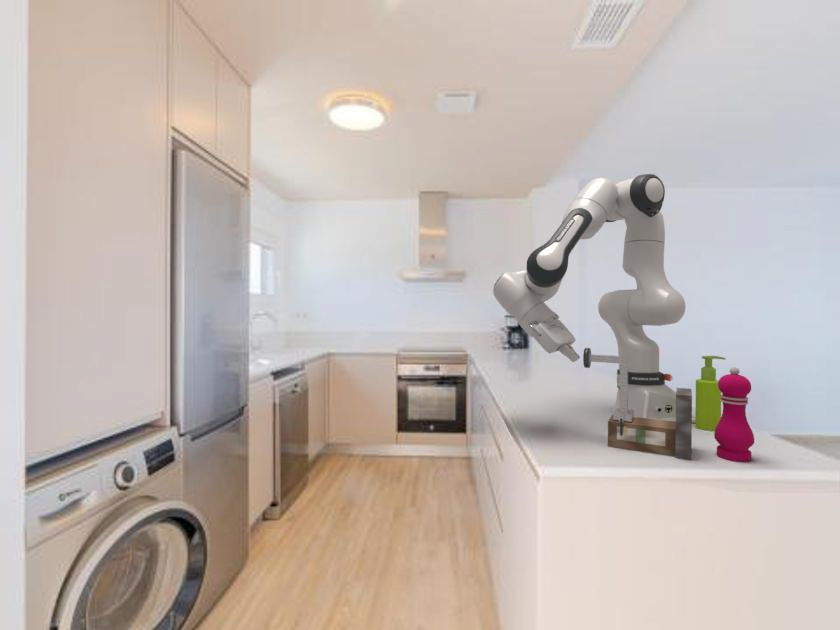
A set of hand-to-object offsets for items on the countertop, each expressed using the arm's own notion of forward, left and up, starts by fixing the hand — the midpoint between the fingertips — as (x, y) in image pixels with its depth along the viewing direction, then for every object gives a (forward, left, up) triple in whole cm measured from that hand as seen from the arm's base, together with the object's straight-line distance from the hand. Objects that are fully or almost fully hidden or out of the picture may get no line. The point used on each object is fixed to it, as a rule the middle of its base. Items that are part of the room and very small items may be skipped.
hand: (576, 360), depth 112 cm
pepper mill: (-30, +15, -20) cm, 39 cm away
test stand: (-14, +8, -20) cm, 26 cm away
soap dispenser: (-40, -9, -20) cm, 45 cm away
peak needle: (-8, +10, -16) cm, 21 cm away
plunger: (-6, +5, -17) cm, 18 cm away
